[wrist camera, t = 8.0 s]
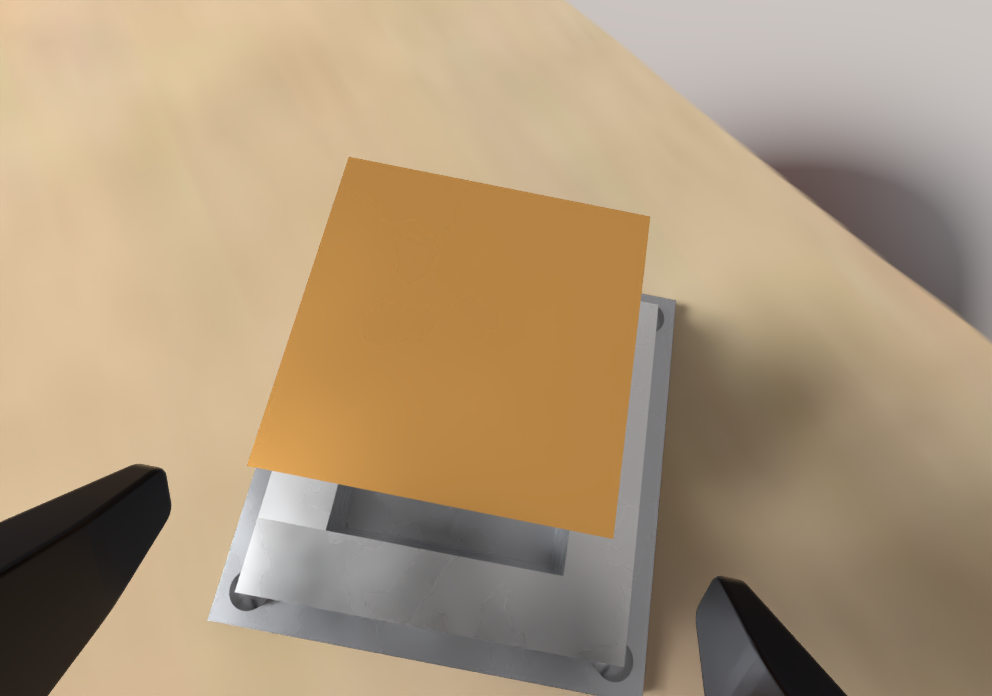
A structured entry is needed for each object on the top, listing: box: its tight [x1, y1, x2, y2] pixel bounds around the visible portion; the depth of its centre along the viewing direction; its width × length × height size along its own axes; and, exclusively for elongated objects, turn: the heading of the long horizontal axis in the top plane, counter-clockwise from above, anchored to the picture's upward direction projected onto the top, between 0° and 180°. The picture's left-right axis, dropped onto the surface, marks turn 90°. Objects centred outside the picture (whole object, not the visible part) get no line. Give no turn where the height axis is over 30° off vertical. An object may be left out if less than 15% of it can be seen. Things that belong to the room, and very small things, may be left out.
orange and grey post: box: [247, 157, 650, 539], centre depth 12 cm, size 4×4×12 cm
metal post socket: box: [208, 294, 676, 696], centre depth 17 cm, size 14×14×3 cm
